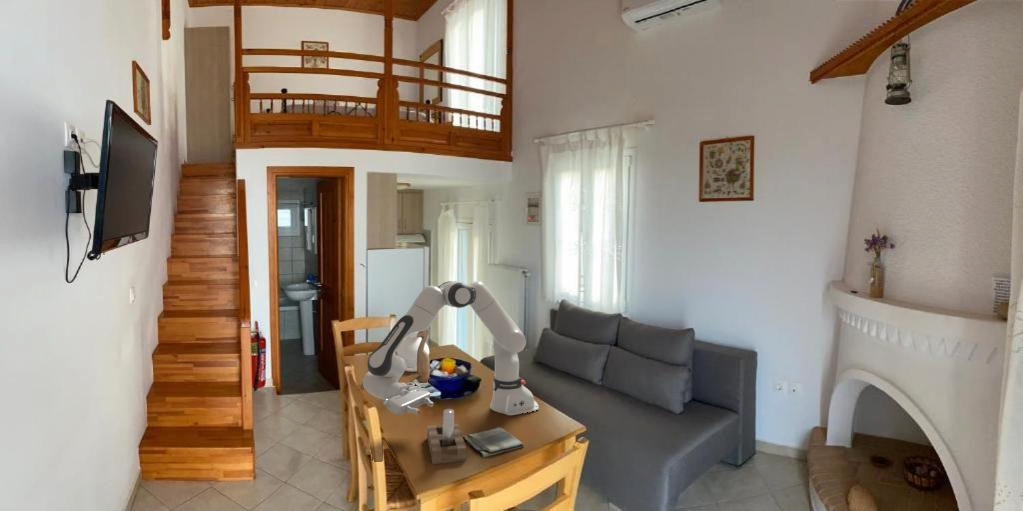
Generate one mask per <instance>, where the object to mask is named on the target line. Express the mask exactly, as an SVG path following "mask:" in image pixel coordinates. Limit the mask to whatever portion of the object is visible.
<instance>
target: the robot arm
mask: <svg viewBox="0 0 1023 511" xmlns="http://www.w3.org/2000/svg"><path fill="white" fill-rule="evenodd" d="M444 306H448V307H451V308H458V309H461V308H465V307H467V306H470V307H471V309H472V310H473V312H474V313H475V314H476V315H477V317H478V318H479V320H480V321H481V322H482V323H483V325H484V326H485V327H486V328H487V330H488V331H489V332H490V333H491V337H492V345H493V346H492V347H493V353H494V376H493V381H492V389H493V393H492V398H491V402H490V405H489V408H490V410H491V411H494V412H496V413H499V414H504V415H506V416H515V415H520V414H521V415H522V413H523V414H526V413H527V412H528V413H533V412H532V411H534V412H537V411H536V410H538V409H540V407H539V406H540V405H539V404H538V402H537V401H536V400H535V399H534V395H533V393H532V392H531V390H530V389H528V388H527V387H526V386H525V385H526V381H525V379H523V378H522V377H520V375H519V373H520V372H519V370H520V361H519V356H518V353H520V352H522V351H523V350H524V348H525V347H526V344H527V341H526V336H525V334H524V333H523V332H522V330H521V329H520V327H519V326H518V325H517V323H515V321H514V320H513V319H512V317H511V316H510V315H509V314H508V312H506V311H505V309H504V308H503V306H502V304H500V302H499V301H498V299H497V297H496V296H495V295H494V294H493V292H492V291H491V290H490V289H489V288H488V287H487V286H486V284H484V282H481V281H480V280H479V281H478V280H477V281H476V280H475V281H473V282H471V283H469V284H467V283H464V282H462V281H461V282H460V281H456V280H455V281H454V280H453V281H449V280H448V281H445V282H443V283H441V285H438V286H436V285H427V286H425V287H424V289H422V290H421V292H420V293H419V294H418V295H417V297H416V298H415V300H414V302H413V303H412V305H411V307H410V308H409V309H408V311H407V312H406V313H405V314H404V315H403V316H402V317H400V318H399V319H398V321H396V323H395V324H394V325H393V327H392V328H391V330H390V331H389V332H388V334H387V335H386V337H385V338H384V339H383V341H382V342H381V343H380V345H379V346H378V347H377V348H375V349H374V350H373V351H372V352H371V353H370V354H369V356H368V357H367V363H366V364H367V369H368V372H366V373H365V375H364V377H363V380H362V385H363V389H364V390H365V391H366V392H367V393H368V394H370V395H372V397H375V398H377V399H380V400H381V399H382V405H383V406H385V407H386V408H387V410H388V411H390V413H391V412H392V413H393V414H395V415H397V416H401V415H403V414H405V413H406V414H407V413H408V414H413V415H415V416H417V415H419V414H420V411H421V410H420V409H419V408H417V407H419V406H421V405H423V404H425V405H426V406H427V407H428V408H432V407H434V405H435V404H434V402H433V401H432V400H430V399H431V398H430V397H431V392H428V391H427V390H425V389H423V388H421V387H419V386H415V384H414V383H413V381H412V382H399V381H400V380H401V379H402V377H403V376H404V374H405V372H406V371H405V369H406V363H405V361H404V359H403V358H402V357H399V356H398V355H397V354H396V351H397V350H398V347H399V345H400V344H401V343H402V342H403V340H404V339H406V338H407V337H408V335H409V334H410V333H413V332H419V331H424V330H426V329H428V330H429V328H430V327H431V325H432V324H433V323H434V321H435V320H436V317H437V316H438V314H439V311H440V310H441V309H442V308H443V307H444ZM394 352H395V354H394ZM538 411H539V410H538ZM528 413H527V414H528Z"/></svg>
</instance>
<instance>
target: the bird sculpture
mask: <svg viewBox="0 0 1023 511" xmlns="http://www.w3.org/2000/svg"><path fill="white" fill-rule="evenodd" d="M429 334H430V331H429V328H428V329H426V330H424V331H419V332H418V334H417V338H418V337H421V338H422V340H421V342H420V345H419V347H418V351H417V371H416V373H417V374H418V379H417V381H418V382H419V383H427V382H428V379H429V380H430V369H431V368H430V364H431V363H430V361H431V360H430V356H429V355H430V354H429V355H428V354H427V353H426V352H425V351H424V345H425V342H426V341H427V338H428V336H429ZM426 343H427V342H426Z"/></svg>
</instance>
